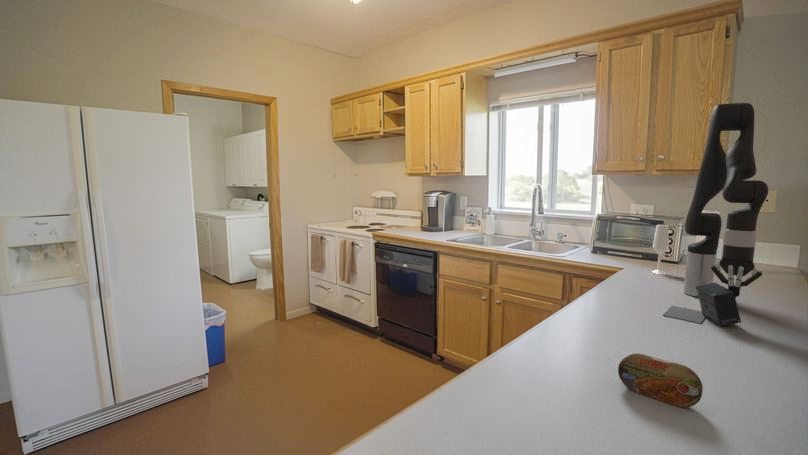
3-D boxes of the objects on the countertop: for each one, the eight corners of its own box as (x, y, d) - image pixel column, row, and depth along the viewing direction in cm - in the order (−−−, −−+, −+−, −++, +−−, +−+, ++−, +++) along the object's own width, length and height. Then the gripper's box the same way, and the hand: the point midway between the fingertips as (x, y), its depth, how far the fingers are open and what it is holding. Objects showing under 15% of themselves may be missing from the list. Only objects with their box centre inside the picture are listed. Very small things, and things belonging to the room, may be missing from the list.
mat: (671, 306, 141) (672, 305, 141) (707, 313, 134) (707, 312, 134) (662, 315, 132) (662, 314, 132) (701, 323, 124) (701, 322, 124)
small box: (743, 322, 120) (735, 291, 119) (720, 327, 122) (711, 296, 121) (723, 310, 130) (715, 281, 129) (701, 314, 132) (694, 286, 131)
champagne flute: (647, 271, 194) (651, 224, 191) (659, 271, 195) (663, 224, 192) (657, 275, 187) (661, 226, 184) (669, 274, 188) (674, 226, 185)
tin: (616, 386, 87) (619, 351, 86) (620, 381, 89) (623, 346, 88) (699, 415, 76) (703, 374, 75) (701, 408, 79) (706, 369, 78)
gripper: (768, 245, 119) (761, 299, 122) (713, 240, 129) (708, 290, 131) (767, 248, 114) (760, 304, 116) (710, 243, 123) (705, 295, 125)
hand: (733, 297), depth 123 cm, fingers closed
